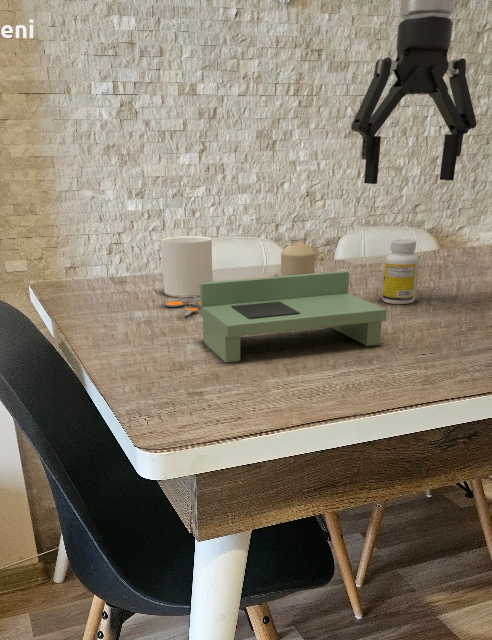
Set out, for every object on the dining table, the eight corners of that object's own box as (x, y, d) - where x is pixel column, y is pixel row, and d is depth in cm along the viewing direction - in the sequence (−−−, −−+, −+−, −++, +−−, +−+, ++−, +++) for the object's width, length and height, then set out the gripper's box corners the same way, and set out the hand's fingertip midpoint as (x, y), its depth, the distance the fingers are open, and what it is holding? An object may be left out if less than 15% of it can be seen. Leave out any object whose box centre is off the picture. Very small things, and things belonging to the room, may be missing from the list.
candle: (281, 301, 115) (282, 240, 110) (313, 302, 114) (316, 240, 109) (278, 308, 110) (279, 245, 105) (312, 309, 109) (314, 245, 104)
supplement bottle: (391, 296, 116) (396, 237, 112) (420, 300, 113) (427, 239, 109) (376, 302, 113) (381, 241, 108) (405, 306, 109) (411, 244, 105)
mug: (217, 295, 120) (216, 241, 116) (167, 299, 118) (164, 244, 114) (204, 283, 130) (203, 233, 126) (158, 286, 129) (155, 235, 124)
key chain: (160, 301, 116) (159, 296, 115) (199, 297, 118) (199, 292, 118) (182, 317, 105) (181, 312, 105) (225, 313, 107) (225, 307, 107)
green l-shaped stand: (383, 346, 89) (389, 285, 86) (228, 365, 83) (226, 300, 80) (342, 325, 99) (346, 270, 96) (201, 340, 94) (199, 282, 90)
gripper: (483, 24, 101) (462, 177, 111) (334, 20, 95) (326, 183, 104) (516, 17, 95) (491, 179, 105) (359, 12, 88) (348, 186, 98)
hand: (409, 182), depth 105 cm, fingers open, 13 cm apart
